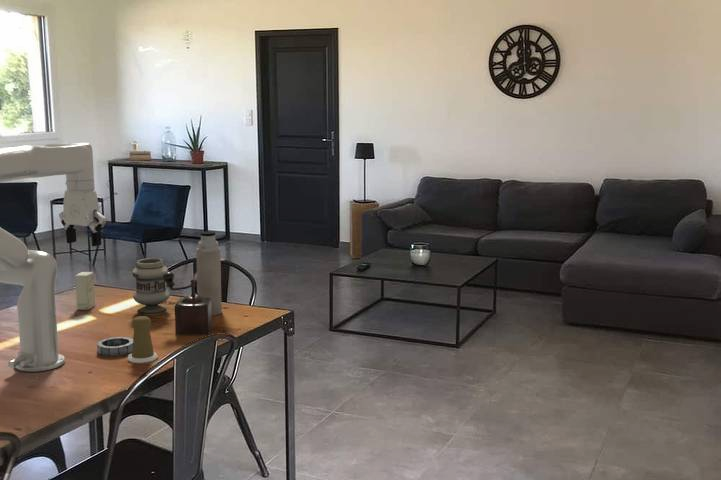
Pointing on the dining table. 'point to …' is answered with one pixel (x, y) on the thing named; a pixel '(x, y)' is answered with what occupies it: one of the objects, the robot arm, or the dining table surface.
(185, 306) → the pepper mill
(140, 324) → the cork
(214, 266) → the thermos bottle
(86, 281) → the skincare box
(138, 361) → the pebble
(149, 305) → the apothecary jar
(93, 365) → the dining table surface
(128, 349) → the holder ring
